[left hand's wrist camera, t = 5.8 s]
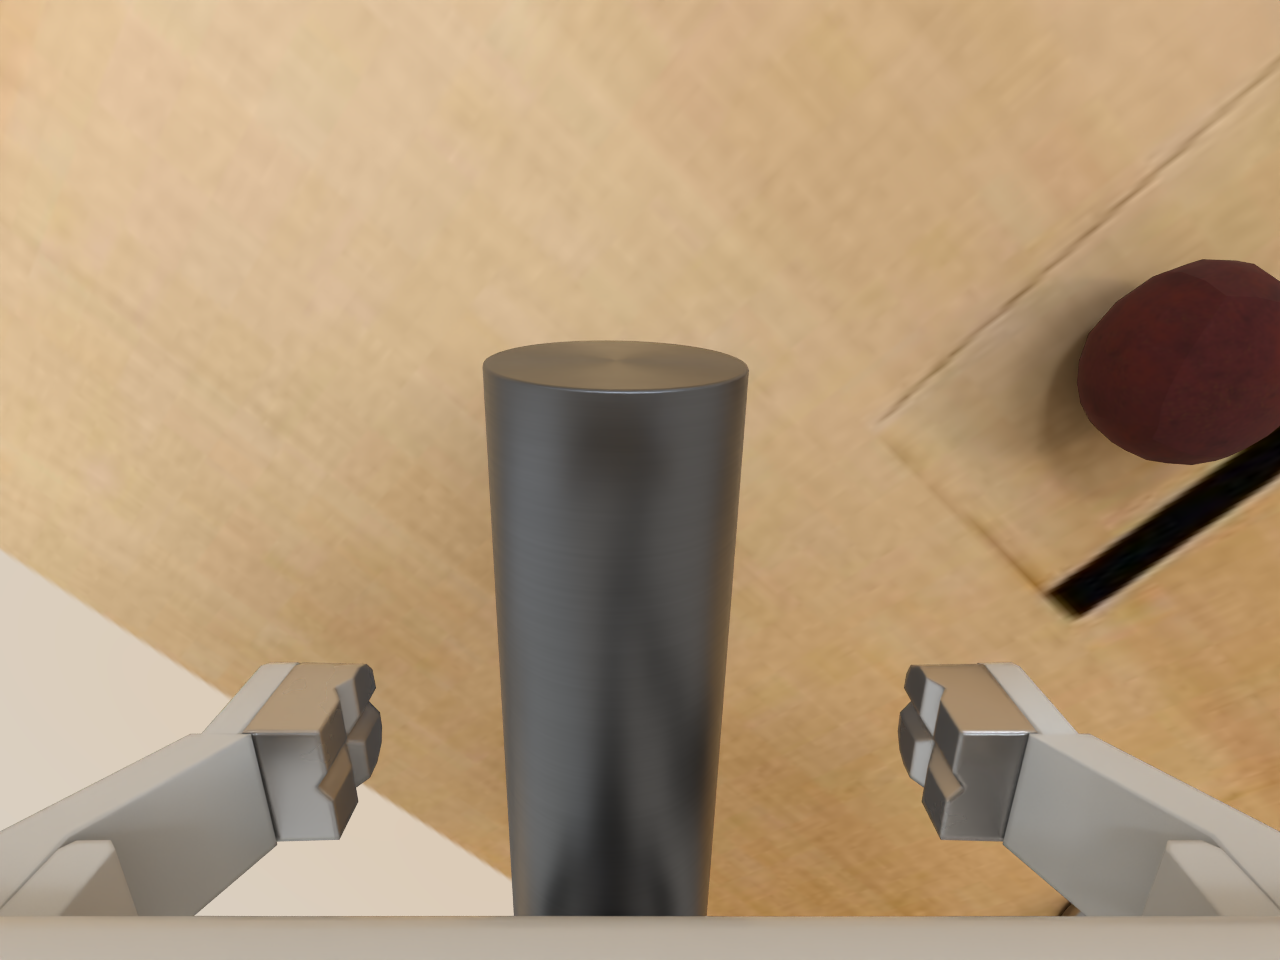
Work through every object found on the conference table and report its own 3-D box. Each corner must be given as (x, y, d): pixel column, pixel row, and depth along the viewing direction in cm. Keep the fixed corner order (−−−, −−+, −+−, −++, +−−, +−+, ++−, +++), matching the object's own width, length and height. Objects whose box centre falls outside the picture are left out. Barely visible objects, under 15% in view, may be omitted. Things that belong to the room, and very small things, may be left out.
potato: (1013, 411, 31) (1115, 463, 24) (1097, 232, 28) (1237, 235, 21) (1161, 452, 31) (1300, 513, 25) (1257, 281, 29) (1441, 298, 22)
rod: (509, 337, 19) (450, 386, 13) (732, 342, 19) (770, 393, 13) (535, 942, 27) (506, 1135, 22) (691, 945, 27) (703, 1139, 22)
